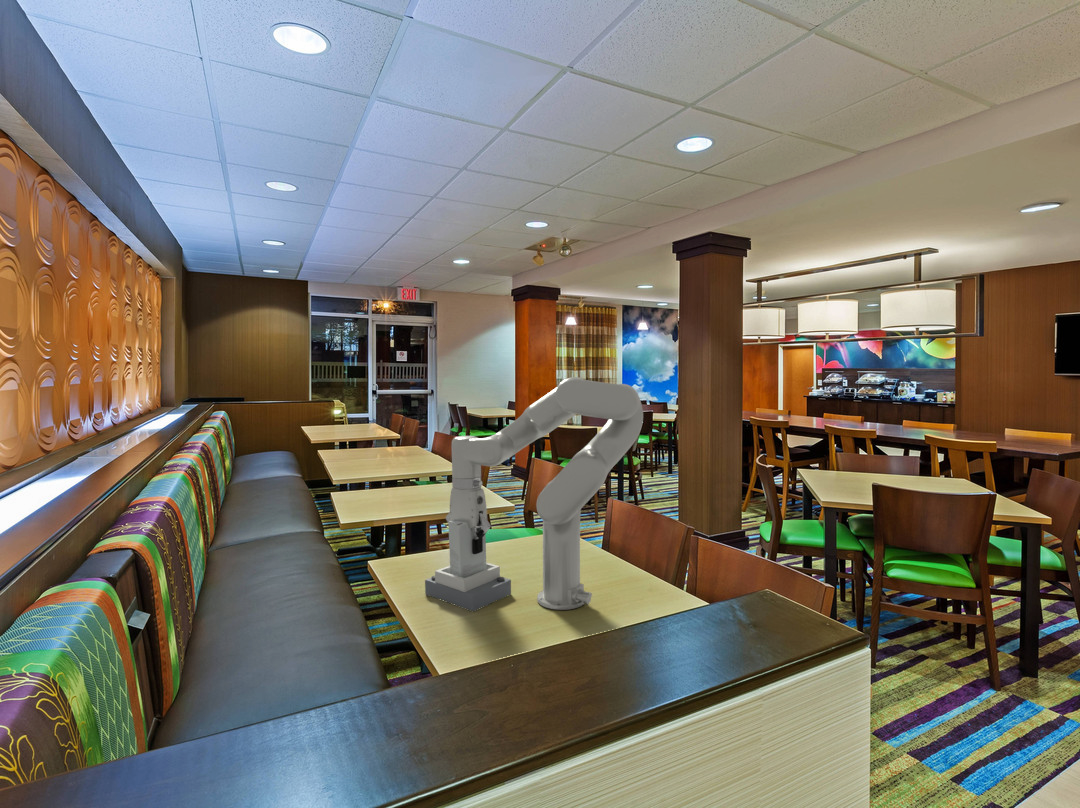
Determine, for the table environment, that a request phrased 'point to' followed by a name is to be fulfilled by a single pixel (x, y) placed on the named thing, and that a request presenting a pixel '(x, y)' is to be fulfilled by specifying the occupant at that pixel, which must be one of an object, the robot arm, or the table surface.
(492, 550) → the table surface
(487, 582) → the grey box holder
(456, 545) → the skincare box
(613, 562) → the table surface
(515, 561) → the table surface
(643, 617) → the table surface
